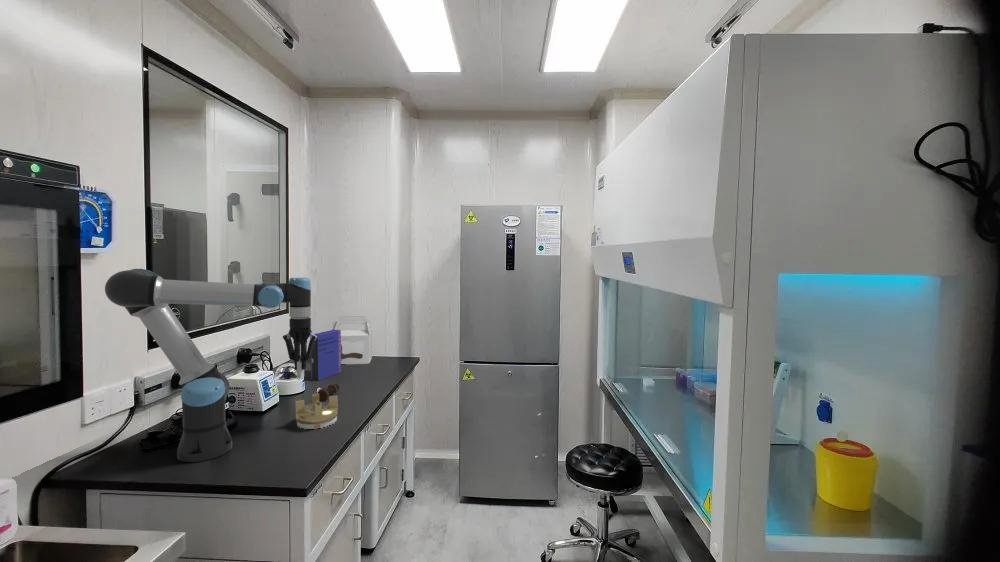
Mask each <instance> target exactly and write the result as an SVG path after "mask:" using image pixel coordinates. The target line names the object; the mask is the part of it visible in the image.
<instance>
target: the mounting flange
mask: <svg viewBox="0 0 1000 562" xmlns="http://www.w3.org/2000/svg"><path fill="white" fill-rule="evenodd" d="M337 421H338V416H337V417H335V418H334V419H332V420H330V421H327V422H323V423H317V424H303V423H299V422H297V421H296V426H297V428H299V427H300V428H299V429H301V428H304V429H303V430H306V429H314V430H319V429H318V428H321V429H324V428H323V427H325V428H328V427H330V426H329V425H331V426H333V425H334V424H336V423H337ZM335 422H336V423H335ZM332 424H333V425H332ZM327 426H328V427H327Z"/></svg>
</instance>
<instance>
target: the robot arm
mask: <svg viewBox="0 0 1000 562" xmlns="http://www.w3.org/2000/svg"><path fill="white" fill-rule="evenodd" d="M311 288H312V287H311V279H310V278H308V277H290V278H289V280H288V282H284V283H283V282H260V283H259V282H258V283H253V284H251V283H235V282H233V283H232V282H231V283H230V282H217V281H216V282H214V281H201V280H200V281H198V280H180V279H179V280H178V279H164V278H163V277H162V276H160V275H158V274H157V273H155V272H153V271H151V270H149V269H144V268H132V269H127V270H122V271H118V272H116V273H114V274H113V275H111V276H110V277H109V278H108V279H107V281H106V282H105V285H104V293H105V295H106V297H107V298H108V300H109V301H110V302H112V303H113V304H114V305H117V306H119V307H123V308H125V310H126V311H127V312H128V313H129V315H130V316H131V317H135V318H139V319H140V321H141V322H142V324H143V325H144V326H145V328H146V329H147V331H148V332H149V334H150V335H151V337H152V338H153V339H154V341H155V342H156V344H157V345H158V346H159V348H160V350H162V352H163V353H164V355H165V357H166V358H167V360H168V361H169V362H170V364H171V365H172V367H173V368H174V369H175V371H176V372H177V374H178V375H179V377H180V380H179V382H178V385H179V386H180V387H181V394H180V400H181V404H182V405H181V408H182V409H181V411H182V435H181V438H180V441H179V443H178V447H177V450H176V458H177V460H178V461H180V462H184V463H199V462H204V461H209V460H212V459H215V458H218V457H221V456H223V455H224V454H227V453H228V452H229V451H231V450H232V448H233V438H232V436H231V434H230V432H229V429H228V427H227V424H226V401H227V397H228V395H229V392H230V382H229V380H228V378H227V376H226V375H224V374H223V373H222V372H220V370H219V369H218V368H217V366H216V364H214V363H209V362H208V361H206V359H205V357H204V356H203V355H202V353H201V351H200V350H199V348H198V347H197V345H196V344H195V343H194V341H193V339H192V338H191V336H190V335H189V334H188V333H187V331H186V329H185V328H184V326H183V325H182V323H181V322H180V320H179V319H178V317H177V316H176V314H175V313H174V311H173V310H172V309H171V307H170V305H171V304H173V305H177V304H178V305H199V306H200V305H203V306H204V305H206V306H209V305H210V306H232V307H233V306H238V307H239V306H241V307H263V308H266V309H274V308H277V307H278V306H280V305H281V304H282V303H289V308H288V309H289V314H288V315H289V331H288V333H287V334H284V335H282V339H283V340H284V343H285V345H286V349H287V354H288V358H289V360H291V361H294V370H296V379H297V380H298V379H299V380H300V379H303V378H304V377H305V370H306V369H307V361H309V360H311V357H312V352H313V348H314V344H315V341H316V339H317V338H318V336H317V335H314V334H315V333H313V331H312V329H311V327H312V318H311V315H312V311H311V308H312V305H311V304H312V301H311V300H312V289H311ZM308 339H309V341H308ZM307 344H308V345H307Z"/></svg>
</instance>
